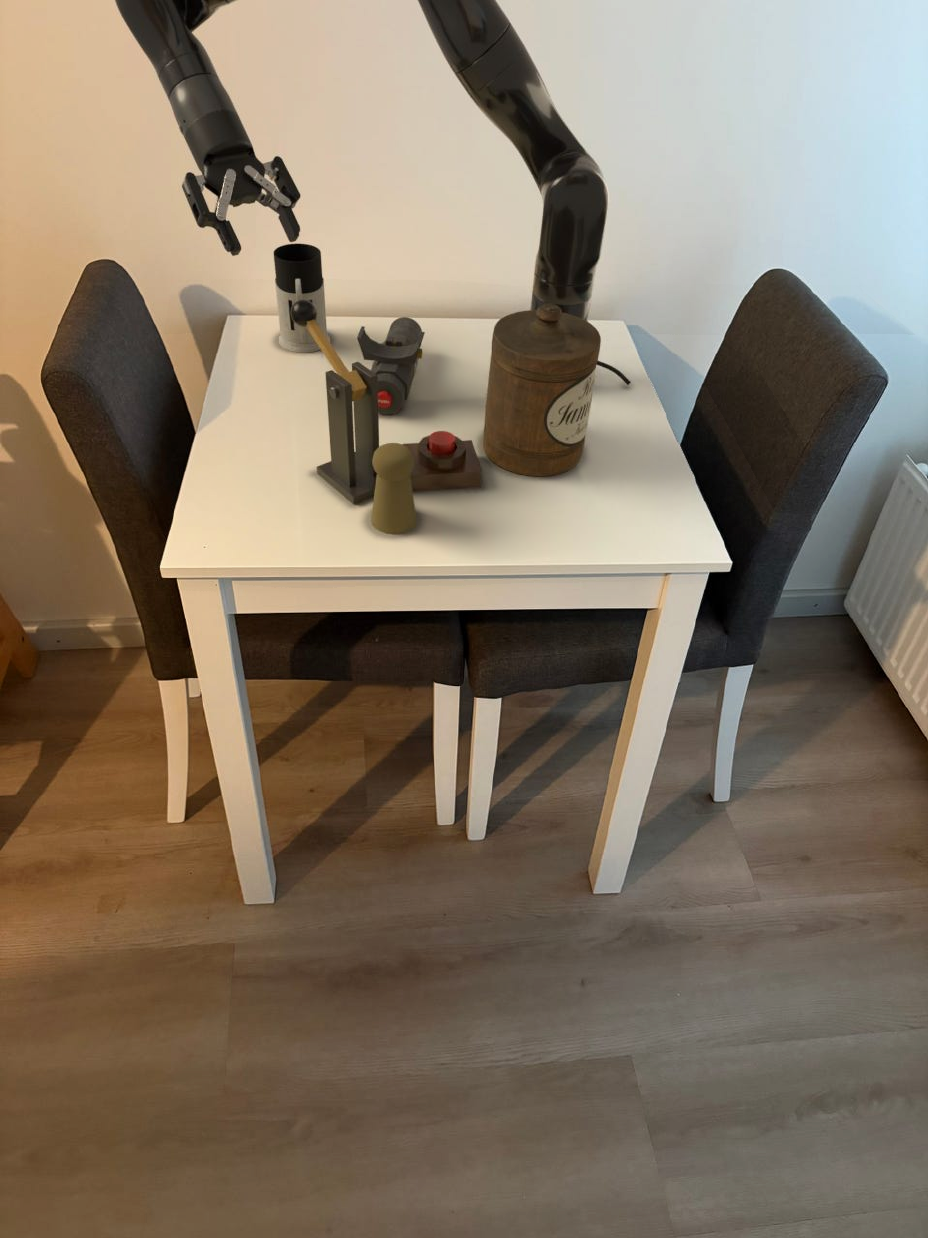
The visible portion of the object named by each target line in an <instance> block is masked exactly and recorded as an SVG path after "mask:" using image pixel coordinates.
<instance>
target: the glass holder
mask: <svg viewBox="0 0 928 1238" xmlns="http://www.w3.org/2000/svg"><path fill="white" fill-rule="evenodd" d="M272 254H273V261H274V272H275V279H274V283H275V293H276V302H277V303H276V304H277V313H278V322H279V323H278V324H279V333H280V334H279V337H278V341H277V342H278V345H280V347H281V348H283V349H284V350H286V351H290V352H293V353H313V352H317V351H322V350H321V349H320V347H319V346H318V344H317V343H316V341H315V339H314V338H313V336H312V335H311V333H310V332H309V330H308V329H307V327H300V326H298V325H297V324H295V323H294V321H293V320H292V318H291V313H290V312H291V307H292V305H293V304H294V303H295V302H296V301H298V300H308V301H310V302H311V303H313V305H314V306H315V308H316V310H317V318H316V323H317V324H318V326H319V327H320V329H321V330H322V332H323V333H324V335H325V336H326V338H327V339H328V341H329V342H330V343H331V338H330V335H329V334H328V327H327V325H328V324H327V313H326V309H327V308H326V297H325V296H326V293H325V280H324V277H323V265H322V252H321V250H320V248H318V247H316V246H315V245H312V244H307V243H287V244H283V245H280V246H278V247H276V248H275V249H274V250H273V253H272Z"/></svg>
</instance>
